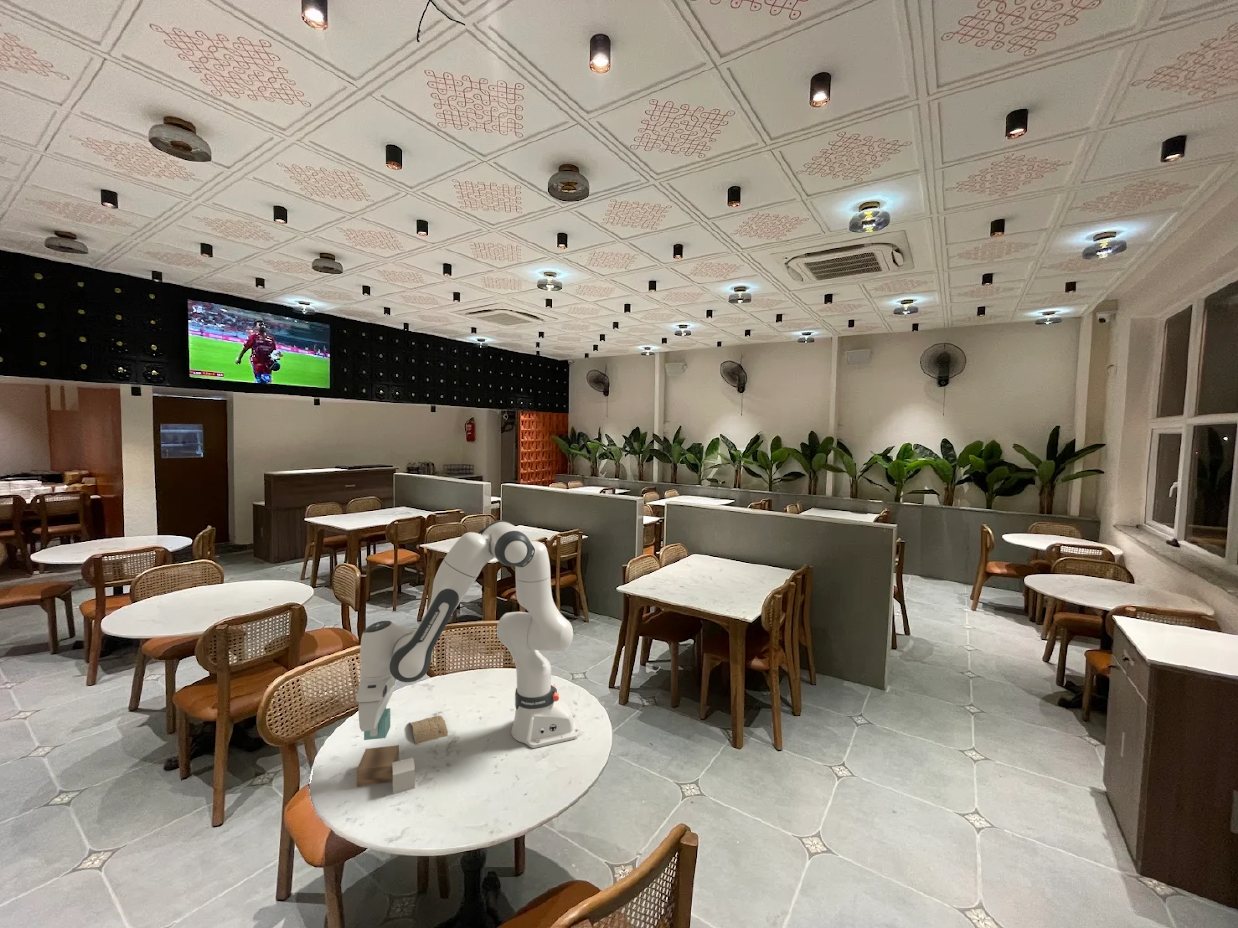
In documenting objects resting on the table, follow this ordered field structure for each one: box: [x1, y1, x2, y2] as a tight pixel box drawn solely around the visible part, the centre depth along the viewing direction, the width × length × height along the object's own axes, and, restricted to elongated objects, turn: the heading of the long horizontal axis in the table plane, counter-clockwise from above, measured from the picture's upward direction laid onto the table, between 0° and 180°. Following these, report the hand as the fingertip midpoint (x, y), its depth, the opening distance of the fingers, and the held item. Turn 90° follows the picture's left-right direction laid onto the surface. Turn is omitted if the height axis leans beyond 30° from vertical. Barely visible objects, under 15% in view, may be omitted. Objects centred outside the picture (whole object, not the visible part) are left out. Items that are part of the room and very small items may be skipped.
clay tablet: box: [409, 715, 449, 746], centre depth 160 cm, size 14×10×3 cm
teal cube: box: [363, 707, 391, 741], centre depth 138 cm, size 6×6×6 cm
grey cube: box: [391, 756, 416, 795], centre depth 135 cm, size 6×6×6 cm
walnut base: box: [356, 744, 400, 787], centre depth 139 cm, size 9×9×5 cm
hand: (377, 727), depth 138 cm, fingers closed on teal cube, 5 cm apart
